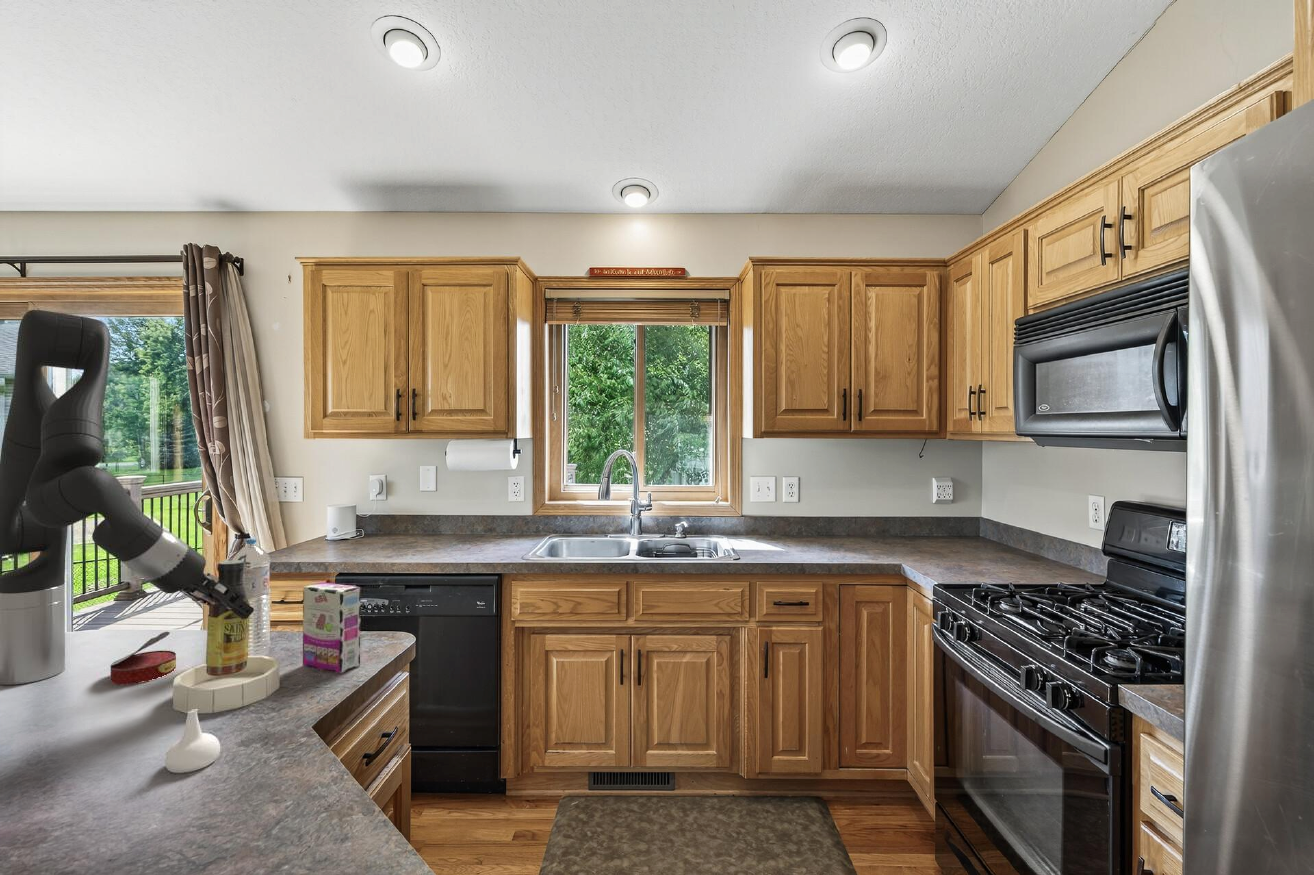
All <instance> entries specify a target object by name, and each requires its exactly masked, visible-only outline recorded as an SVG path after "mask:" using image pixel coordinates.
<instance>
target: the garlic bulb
mask: <svg viewBox="0 0 1314 875" xmlns="http://www.w3.org/2000/svg"><path fill="white" fill-rule="evenodd" d="M197 710H198V709H192V710H191V711H190V712H188V713H187V716H186V720H185V726H184V732H183V736H182V738H181V739H179V740H178V741H176V742H175V743H174V744H173V745H171V747H170V748H169V750H168V751H167V753H166V756H165V766H166V769H167V770H168V771H169V772H171V773H175V774H184V773H185V772H186V773H191V772H195V771H199V770H201V769H204V768H206V767H207V766H209V765H211V764H212V763H214V762H215V761H216V760H217V759H218V757H219V756H220V754H221V753H220V752H221V744H220V740H219V739H218V738H217V737H216V736H215V735H213V734H211V733H207V732H203V731H202V729H201V725H200V722H199V716H198V713H197Z"/></svg>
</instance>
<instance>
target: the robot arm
mask: <svg viewBox="0 0 1314 875" xmlns="http://www.w3.org/2000/svg"><path fill="white" fill-rule="evenodd" d="M109 330H110V329H109V327H108V325H107V324H106V323H105V322H103V321H101V320H99V319H96V318H92V317H86V316H80V315H75V314H70V313H69V314H68V313H63V312H56V311H50V310H41V309H30V310H28V311H26V312H25V313H24V315H23V316H22V318H21V320H20V323H19V326H18V332H17V340H16V350H15V363H14V364H15V366H14V377H13V378H14V379H13V388H12V389H13V390H12V394H11V395H12V396H11V400H10V403H9V404H10V405H9V410H8V414H7V418H6V422H5V426H4V431H3V437H2V444H1V449H0V556H12V555H13V556H14V555H21V554H32V553H39V555H37V557H36V558H34V560H32V561H30V562H29V563H27V564H25V565H23V566H20V567H18V568H16V569H12V570H10V571H8V572H6V573H3V574H1V575H0V685H2V686H4V685H5V686H6V685H7V686H9V685H11V686H12V685H21V684H28V683H33V682H37V681H41V680H45V679H49V678H51V677H54V676H56V675H58V674H61V673H62V672H64V671H65V669H66V558H67V557H66V556H67V555H66V552H67V540H68V528H69V526H71V525H73V524H76V523H79V522H80V521H82V520H84V519H87V518H89V517H91V516H93V515H95V514H98V515H100V516H101V517H103V520H102V521H100V523H98V524H97V525H96V527H95V528H94V529H93V532H92V534H91V535H92V536H91V538H92V541H93V542H94V544H95V545H97V546H98V547H100V548H101V549H102V550H104V551H105V552H107V553H108V554H109V555H110V556H113V557H114V558H115V559H117V560H119V561H120V562H121V563H122V564H124V565H125V566H126V567H127V568H128V569H129V570H130V571H131V572H133V573H134V574H136V575H138V576H139V577H140V578H142V579H143V580H145V581H146V582H148V583H149V584H151V585H152V586H155V588H157V589H159V590H160V591H162V592H163V593H165V594H175V593H178V592H180V593H182V594H184V595H185V596H187V597H188V598H189V599H191V601H193V602H199V603H200V604H201V605H207V606H208V607H209V603H212V604H214V605H216V604H220V605H222V606H224V607H226V609H229V610H231V611H232V612H234V613H235V614H236V615H238V616H239V617H241V618H242V619H247V618H248V617H249V616H250V615H251V614H252V612H253V611H254V608H252V607H251V606H250V605H248V604H247V603H246V602H244V601H243V599H244V597H245V596H243V594H241V593H240V592H238V591H237V590H236V589H235V588H233V587H232V586H231V585H230V584H228V583H227V582H226V581H225V580H222V579H220V580H218V577H217V576H215V575H213V574H211V573H209V572H207V573H206V574H205V573H204V571H205V568H206V566H207V559H206V558H205V556H203V555H202V554H201V553H199V552H198V551H196V550H195V549H194V548H193V547H192V546H190V545H189V544H187V543H186V542H184V541H183V540H182V539H180V537H178V536H176V535H175V534H173V533H172V532H170V531H168V530H166V529H165V528H163V527H161V526H160V525H159V524H158V523H156V522H155V521H154V520H152V519H151V518H149V517H148V516H147V515H145V514H144V513H143V512H142V511H141V510H140V508H139V507H138V506H137V504H136V503H135V502H134V500H133V499H132V498H131V496H130V495H129V494H128V493H127V490H125V488H124V487H123V485H122V483H121V482H120V481H119V480H118V478H117V477H116V476H115V475H114V474H112V473H111V472H109V471H108V470H106V469H103V468H101V467H97V465H98V464H99V463H101V461H102V460H103V456H104V436H103V435H104V434H103V432H104V431H103V409H104V402H105V397H106V390H107V384H108V375H109V368H110V367H109V365H110V356H111V355H110V354H111V333H110V331H109ZM43 367H50V368H51V367H52V368H58V369H59V368H60V369H61V368H62V369H71V370H79V371H83V372H82V374H81V375H80V376H81V377H80V378H79V379H78V380H77V381H76V382H75V384H73V386H71V387H70V388H69V389H68V390H67V391H65V392H64V393H63V394H62V395H60V396H59V397H57V396H56V395H55V394H54V392H53V390H52V388H51V387H50V385H49V384H48V382H47V379H46V377H45V375H44V373H43V369H42V368H43ZM213 596H216V597H217V598H216V599H212V597H213ZM231 596H232V598H231ZM230 598H231V599H230ZM229 599H230V601H229Z"/></svg>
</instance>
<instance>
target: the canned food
mask: <svg viewBox="0 0 1314 875" xmlns="http://www.w3.org/2000/svg"><path fill="white" fill-rule="evenodd" d="M170 633H171V632H170V631H164V632H161V633H160V634H158V635H157V636H154V637H151V638H150V639H149V640H148V641H146V642H145V643H144V644H143V645H142V646H141V647H140V648H138V649H137V650H136V651H134V652H132V653H130V654H128V655H126V656H123V657H122V658H118V660H115V661H113V662H112V663H111V664H110V665H109V668H110V682H111V681H112V682H113V683H112V682H111V683H112V684H114V683H115V685H134V684H135V683H136V684H140V683H139V682H142V681H147V682H150V681H149V680H151V681H153V680H152V679H155V680H157V678H158V677H161V678H163V677H162V676H164V675H166V676H168V675H167V674H169V673H171V672H172V671H174V669H175V668H176V669H177V654H176V652H175V651H172V650H154V651H153V650H152V651H145V652H141V651H142V650H145V649H147V648H149V647H150V646H152V645H154V644H156V643H158V642H159V641H162V640H163V639H165V638H166V637H168V636H169V635H170ZM139 652H140V653H139ZM174 672H175V671H174ZM172 673H173V672H172ZM172 673H171V674H172ZM169 675H170V674H169ZM164 677H165V676H164ZM158 679H159V678H158ZM142 683H143V682H142ZM136 684H135V685H136Z"/></svg>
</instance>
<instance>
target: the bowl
mask: <svg viewBox="0 0 1314 875" xmlns="http://www.w3.org/2000/svg"><path fill="white" fill-rule="evenodd" d="M206 669H207V665H206V663H204V664H200V665H196V666H193V667H191V668H189V669H187V670H186V671H184V672H182V673H180V674H179V675H177V676H175V677H174V680H173V684H172V708H173V710H176V711H178V710H179V712H180V713H181V712H182V713H185V714H186V713H187V714H188V712H190V711H191V710H192V709H198V710H197V714H213V713H214V714H215V713H219V712H220V713H221V712H224V711H229V710H230V711H231V710H235V709H238V708H242V707H246V706H248V705H251V704H253V703H256V702H258V701H261V700H264V699H266V698H268V697H270V696H271V695H272V694H273V693H274V692H276V691H277V690H278V689H279V688H280V662H279V658H275V657H272V656H269V655H266V656H248V659H247V665H246V667H245V668H244V669H243V670H241V671H240V672H237V673H234V674H229V675H222V676H211V675H208V674H207V672H206Z"/></svg>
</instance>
